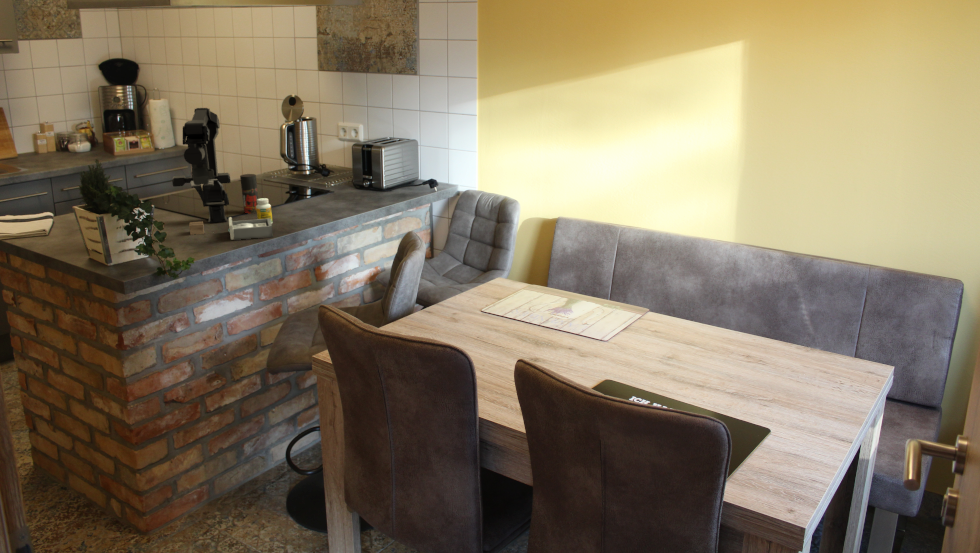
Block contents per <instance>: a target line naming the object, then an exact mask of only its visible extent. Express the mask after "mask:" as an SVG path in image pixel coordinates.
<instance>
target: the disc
mask: <svg viewBox="0 0 980 553" xmlns="http://www.w3.org/2000/svg"><path fill="white" fill-rule="evenodd" d="M249 227H253V224H251V223H241V224H237V225H235V228H236V229H237V228H249Z"/></svg>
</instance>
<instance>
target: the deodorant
mask: <svg viewBox="0 0 980 553" xmlns="http://www.w3.org/2000/svg"><path fill="white" fill-rule="evenodd" d="M240 185H241V186H240V187H241V194H242V195H241V196H242V205H243V213H244V212H245V213H248V214H247V215H253V214H254V213H255V214H257V210H256V206H257V205H258V203H257V199H259V195H258V194H259V193H258V192H259V191H258V183H257V175H256V174H254V173H247V174H246V173H244V174H241V175H240ZM245 213H244V214H245Z"/></svg>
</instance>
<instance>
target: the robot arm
mask: <svg viewBox="0 0 980 553" xmlns="http://www.w3.org/2000/svg"><path fill="white" fill-rule="evenodd" d="M220 125H221V124H220V119H219V117H218V114H217V113H215V112H213V111H211V110H210V108H208V107H196V108H194V114H193V116H192V118H191V120H188V121H186V122H185V123H184V124H183V126H182V145H185V146H187V149H185V150H184V153H183V158H184V160H185V162H187V163H188V164H190V167H191V173H190V174H191V177H190V176H189V177H186V175H185V174H184V175H183V174H182V175H181V174H180V175H174V176H173V177H172V179H171V180H172V186H173V187H183V186H184V185H185V184H190V188H191V189H192V188H193V189H195V190H196V192H197V194H198V195H199V197H200V199H201V202H202V206H203V207H207V208H208V215H209V218H208V224H211V223H212V224H214V223H225V222H228V219H227V216H226V211H225V207H227V206H229V205H230V199H229V195H228V193H227V192H226V190H225V188H224V184H230V183H231V175H230V173H229V172H219V171H218V161H217V160H218V159H217V150H216V149H217V148H216V139H217V137H218V135H219V129H220Z"/></svg>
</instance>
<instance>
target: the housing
mask: <svg viewBox="0 0 980 553" xmlns="http://www.w3.org/2000/svg"><path fill="white" fill-rule="evenodd" d="M241 223H251V224H258V223H266V225H267V226H261V227H249V228H237V229H233V231H234V239H233V240H234V241H242V240H241V239H246V240H252V239H251V238H258V239H268V238H274V234H273V223H272V224H271V221H270V218H268V219H258V218H257V219H256V218H255V219H246V220H245V219H244V220H232V225H237V224H241Z"/></svg>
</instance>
